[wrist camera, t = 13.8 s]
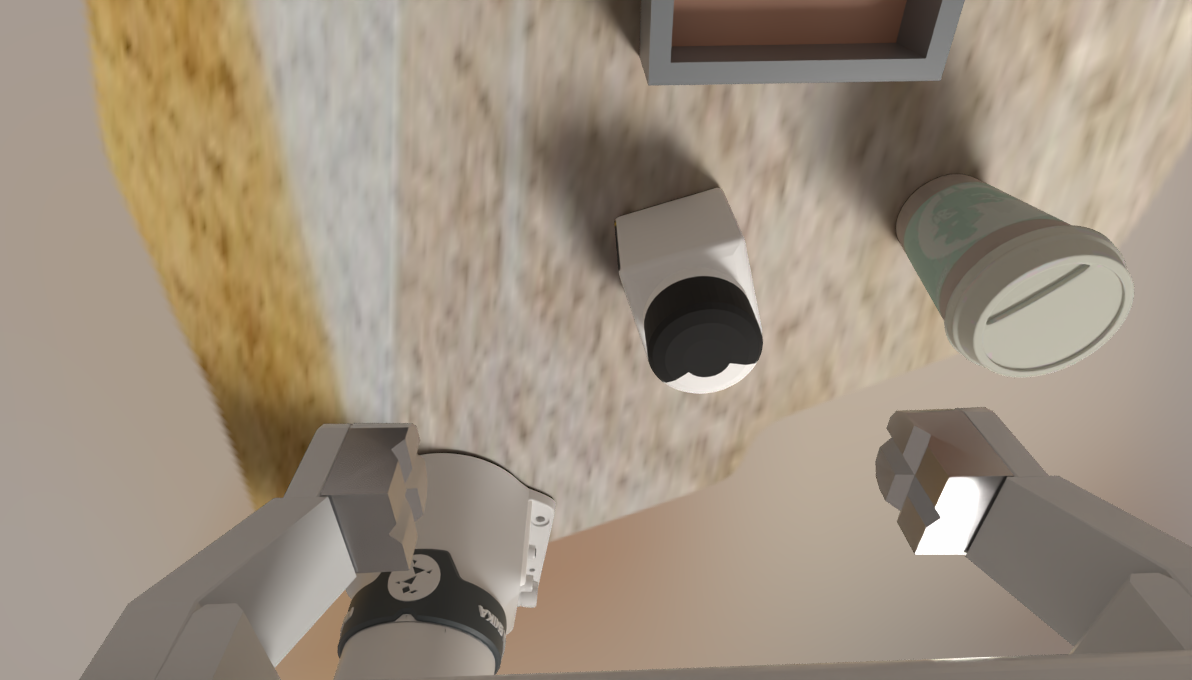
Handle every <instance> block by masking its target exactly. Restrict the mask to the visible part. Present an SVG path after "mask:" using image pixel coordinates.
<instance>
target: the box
mask: <svg viewBox="0 0 1192 680" xmlns="http://www.w3.org/2000/svg"><path fill="white" fill-rule="evenodd" d="M964 1H965V0H641V19H640V56H639V57H640V60H641V63H642V66H643V70H644V73H645V76H646V79H647V83H648V85H704V84H765V83H825V82H885V81H941V77H942V74H943V71H944V67H945V64H946V61H947V57H948V54H949V51H950V47H951V44H952V41H953V37H954V34H955V31H956V27H957V24H958V21H959V17H960V14H961V11H962V8H963V4H964Z"/></svg>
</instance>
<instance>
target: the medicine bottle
mask: <svg viewBox="0 0 1192 680" xmlns="http://www.w3.org/2000/svg"><path fill="white" fill-rule="evenodd" d="M614 224H615V236H616V247H617V258H618V270H619V276H620V279H621V282H622V285H623V288H624V291H625V294H626V297H627V300H628V303H629V306H630V308H631V311H632V314H633V317H634V320H635V323H636V326H637V329H638V332H639V335H640V338H641V341H642V344H643V347H644V350H645V352H646V355H647V358H648V361H649V364H650V367H651V369H652V370H653V372H654V373H655V375H656V376H657V377H658V378H659V379H660V380H661V381H662V382H664V383H665V384H667V385H668V386H670V387H672V388H674V389H677V390H680V391H684V392H689V393H712V392H716V391H720V390H723V389H726V388H728V387H730V386H732V385H734V384H736V383H737V382H739V381H740V380H741V379H743V378H744V377H745V376H746V375H747V374H748V373H749V372H750V371H751V370H752V369H753V368H754V366H755V365H756V363H757V361H758V360H759V357H760V355H761V351H762V346H763V339H762V326H761V321H760V316H759V311H758V305H757V300H756V295H755V290H754V285H753V280H752V274H751V269H750V264H749V259H748V254H747V249H746V243H745V239H744V237H743V234H742V232H741V230H740V228H739V225H738V223H737V221H736V219H735V216H734V214H733V212H732V210H731V207H730V205H729V203H728V201H727V198H726V196H725V194H724V192H723V190H722V189H720V188H714V189H711V190H707V191H704V192H701V193H697V194H694V195H690V196H687V197H684V198H680V199H677V200H674V201H670V202H667V203H663V204H660V205H657V206H653V207H650V208H647V209H643V210H640V211H636V212H633V213H630V214H626V215H623V216H620V217H617V218H616V219H615V221H614Z"/></svg>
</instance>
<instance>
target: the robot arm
mask: <svg viewBox="0 0 1192 680" xmlns="http://www.w3.org/2000/svg"><path fill="white" fill-rule="evenodd" d="M887 430H888V432H889V433H890V435H891V437H892V438H891V439H889V440H888V441H887V442H886V443H884V444H883V445H882V446H881V447H880V448H879V451H878V455H877V458H876V478H877V482H878V485H879V489H880V491H881V493H882V494H883V497H884V499H885V500H886V501H887V502H888V503H890V504H891V505H892V506H894V507H895V508H897V509H898V510H900V513H899V517H898V520H897V523H898V525H899V526H900V528H901V530H902V532H903V534H904V535H905V537H906V539H907V541H908V543H909V545H910V547H911V548H912V550H913V552H914V554H966V557H967V558H968V559H969V560H970V561H971V562H973V563H974V564H975V565H976V566H978V567H979V568H980V569H981V570H982V571H984V572H985V573H986V574H987V575H988V576H989V577H991V578H992V579H993V580H994V581H996V582H997V583H998V584H999V585H1000V586H1002V587H1003V588H1004V589H1005V590H1006V591H1008V592H1009V593H1010V594H1011V595H1012V596H1014V597H1015V598H1016V599H1017V600H1018V601H1020V602H1021V603H1022V604H1023V605H1024V606H1026V607H1027V608H1028V609H1029V610H1030V611H1032V612H1033V613H1034V614H1035V615H1036V616H1038V617H1039V618H1040V619H1041V620H1043V621H1044V622H1045V623H1046V624H1047V625H1049V626H1050V627H1051V628H1052V629H1053V630H1055V631H1056V632H1057V633H1058V634H1060V635H1061V636H1062V637H1063V638H1064V639H1066V640H1067V641H1068V642H1069V643H1070V644H1072V645H1073V646H1074V648H1073V649H1072V650H1071V652H1070V653H1069V654H1060V655H1059V654H1057V655H1030V656H1004V657H977V658H948V659H922V660H895V661H866V662H838V663H812V664H785V665H760V666H732V667H705V668H679V669H652V670H651V669H650V670H621V671H596V672H595V671H594V672H567V673H566V672H565V673H538V674H537V673H536V674H508V675H495V674H496V673H497V672H498V670H499V668H500V664H501V659H502V657H503V654H504V650H505V643H506V635H507V634H508V633H509V632H511V631H512V629H513V626H514V621H515V615H516V609H517V607H520V606H522V607H531V608H533V607H536V601H537V592H538V585H539V580H540V576H541V572H542V567H543V562H544V558H545V554H546V549H547V545H548V541H549V536H550V532H551V527H552V523H553V518H554V514H555V508H556V503H555V501H554V500H553V499H552V498H550V497H548V496H546V495H544V494H542V493H539V492H537V491H534V490H531V489H529V488H527V487H526V486H524V485H523V484H522V483H521V482H519V481H518V480H517V479H516V478H515V477H514V476H512V475H511V474H510V473H508V472H507V471H505V470H504V469H502V468H500V467H498V466H497V465H495V464H492V463H490V462H487V461H485V460H482V459H479V458H475V457H471V456H466V455H460V454H451V453H433V454H424V455H418V454H417V451H418V447H419V443H420V437H419V434H418V430H417V426H416V425H414V424H413V423H354V424H323V425H322V426H321V427H319V428H318V429H317V430H316V432H315V434H314V436H313V438H312V440H311V442H310V444H309V446H308V449H307V451H306V453H305V455H304V457H303V459H302V461H301V463H300V465H299V467H298V469H297V471H296V473H295V475H294V477H293V479H292V481H291V483H290V485H289V487H288V489H287V491H286V493H285V495H284V497H283V498H273V499H272V500H271V501H269V502H268V503H266V504H265V505H264V506H262V507H261V508H260V509H258V510H257V511H255V512H254V513H253V514H251V515H250V516H248V517H247V518H246V519H244V520H243V521H242V522H240V523H239V524H238V525H236V526H235V527H233V528H232V529H231V530H229V531H228V532H227V533H225V534H224V535H222V536H221V537H220V538H218V539H217V540H215V541H214V542H213V543H211V544H210V545H209V546H207V547H206V548H204V549H203V550H202V551H200V552H199V553H198V554H196V555H195V556H193V557H192V558H191V559H189V560H188V561H186V562H185V563H184V564H182V565H181V566H180V567H178V568H177V569H175V570H174V571H173V572H171V573H170V574H169V575H167V576H166V577H164V578H163V579H162V580H160V581H159V582H158V583H156V584H155V585H154V586H152V587H151V588H149V589H148V590H147V591H145V592H144V593H143V594H141V595H140V596H138V597H137V598H135V599H134V600H133V601H131V602H130V603H129V604H128V605H127V606H126V608H125V610H124V611H123V613H122V614H121V616H120V617H119V619H118V620H117V622H116V623H115V625H114V627H113V628H112V630H111V631H110V633H109V634H108V636H107V637H106V639H105V641H104V642H103V644H102V645H101V647H100V648H99V650H98V651H97V653H96V654H95V656H94V658H93V659H92V661H91V662H90V664H89V665H88V667H87V668H86V670H85V671H84V673H83V675H82V676H81V678H80V679H79V680H281V679H280V677H279V675H278V674H277V672H276V670H275V667H276V666H277V665H278V664H279V662H280V661H281V660H282V659H283V658H284V657H285V656H286V655H287V653H288V652H289V651H290V650H291V649H292V648H293V647H294V646H295V645H296V644H297V642H298V641H299V640H300V639H301V638H302V637H303V636H304V634H306V632H307V631H308V630H309V629H310V628H311V627H312V626H313V624H315V622H316V621H317V620H318V619H319V618H320V617H321V616H322V615H323V613H324V612H325V611H326V610H327V609H328V608H329V607H330V606H331V605H332V603H333V602H334V601H335V600H336V599H337V598H338V597H339V595H341V593H342V592H343V591H344V590H345V589H346V592H347V594H348V596H349V597H350V598H351V599H352V601H351V604H350V607H349V610H348V613H347V615H346V616H345V618H344V621H343V624H342V628H341V633H340V641H339V645H338V656H339V658H340V660H339V663H338V666H337V670H336V673H335V676H334V680H1192V547H1191V546H1189V545H1187V544H1185V543H1183V542H1181V541H1179V540H1178V539H1176V538H1174V537H1172V536H1170V535H1168V534H1166V533H1164V532H1163V531H1161V530H1159V529H1157V528H1155V527H1153V526H1151V525H1149V524H1147V523H1146V522H1144V521H1142V520H1140V519H1138V518H1136V517H1135V516H1133V515H1131V514H1129V513H1127V512H1125V511H1123V510H1122V509H1120V508H1118V507H1116V506H1114V505H1112V504H1110V503H1108V502H1106V501H1105V500H1102V499H1101V498H1099V497H1097V496H1095V495H1093V494H1091V493H1090V492H1088V491H1086V490H1084V489H1082V488H1080V487H1078V486H1076V485H1075V484H1073V483H1071V482H1069V481H1067V480H1065V479H1063V478H1061V477H1060V476H1049V475H1048V474H1047V473H1046V472H1045V471H1044V470H1043V468H1042V467H1041V466H1040V465H1039V464H1038V463H1037V461H1036V460H1035V459H1034V458H1033V457H1032V456H1031V455H1030V453H1029V452H1028V451H1027V450H1026V449H1025V448H1024V446H1023V445H1022V444H1021V443H1020V442H1019V441H1018V439H1017V438H1016V437H1015V436H1014V435H1013V434H1012V432H1011V431H1010V430H1009V429H1008V428H1007V427H1006V425H1005V424H1004V423H1003V422H1002V421H1001V420H1000V419H999V417H998V416H997V415H996V414H995V413H994V412H993V411H992V410H990V409H988V408H986V407H975V408H955V409H933V410H903V411H896V412H895V413H894V414H893V415H892V416H891V417H890V420H889V423H888V426H887Z"/></svg>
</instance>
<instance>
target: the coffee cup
mask: <svg viewBox="0 0 1192 680" xmlns="http://www.w3.org/2000/svg"><path fill="white" fill-rule="evenodd" d="M896 233H897V237H898V240H899V242H900V244H901V245H902V247H903V249H904V251H905V253H906V254H907V256H908V258H909V260H910V262H911V263H912V265H913V267H914V269H915V270H916V272H917V274H918V276H919V277H920V279H921V281H922V283H923V285H924V286H925V288H926V290H927V292H928V293H929V295H930V297H931V299H932V300H933V302H934V304H935V306H936V307H937V309H938V311H939V313H940V314H941V316H942V318H943V320H944V325H945V332H946V335H947V338H948V340H949V342H950V343H951V345H952V346H953V347H954V349H955V350H957V351H958V352H959V353H960V354H962V355H963V356H964V357H965V358H967V359H968V360H969V361H971V362H973V363H975V364H977V365H979V366H983V367H985V368H987V369H988V370H991V371H992V372H994V373H997V374H1000V375H1003V376H1008V377H1033V376H1040V375H1045V374H1048V373H1052V372H1055V371H1058V370H1061V369H1064V368H1066V367H1068V366H1071V365H1073V364H1075V363H1077V362H1078V361H1080V360H1082V359H1084V358H1086V357H1087V356H1089V355H1090V354H1091V353H1093V352H1095V351H1096V350H1097V349H1099V348H1100V347H1101V346H1102V345H1103V344H1105V343H1106V342H1107V341H1108V340H1109V339H1110V338H1111V337H1112V336H1113V335H1114V334H1115V333H1116V331H1117V330H1118V329H1119V328H1120V327H1121V325H1122V324H1123V322H1124V321H1125V319H1126V317H1127V315H1128V314H1129V311H1130V309H1131V306H1132V303H1133V299H1134V284H1133V280H1132V277H1131V275H1130V273H1129V271H1128V270H1127V267H1126V263H1125V260H1124V258H1123V256H1122V254H1121V253H1120V251H1119V250H1118V249H1117V248H1116V247H1115V246H1114V244H1113V243H1112V242H1111V241H1110V240H1109V239H1108V238H1107V237H1106V236H1104V235H1103V234H1101V233H1100V232H1098V231H1095V230H1093V229H1090V228H1086V227H1081V226H1072V225H1070V224H1068V223H1066V222H1064V221H1062V220H1060V219H1058V218H1056V217H1053V216H1051V215H1049V214H1047V213H1045V212H1043V211H1041V210H1039V209H1037V208H1035V207H1033V206H1031V205H1029V204H1027V203H1025V202H1023V201H1021V200H1019V199H1017V198H1015V197H1013V196H1011V195H1009V194H1007V193H1005V192H1003V191H1001V190H999V189H997V188H995V187H993V186H991V185H989V184H986V183H984V182H982V181H980V180H978V179H976V178H974V177H972V176H969V175H964V174H951V175H946V176H942V177H939V178H936V179H934V180H932V181H930V182H928V183H926V184H925V185H923V186H921V187H920V188H919V189H918V190H916V191H915V192H914V193H913V194H912V195H911V196H910V197H909V198H908V200H907V201H906V202H905V204H904V205H903V207H902V209H901V211H900V213H899V215H898V219H897V223H896Z"/></svg>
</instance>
